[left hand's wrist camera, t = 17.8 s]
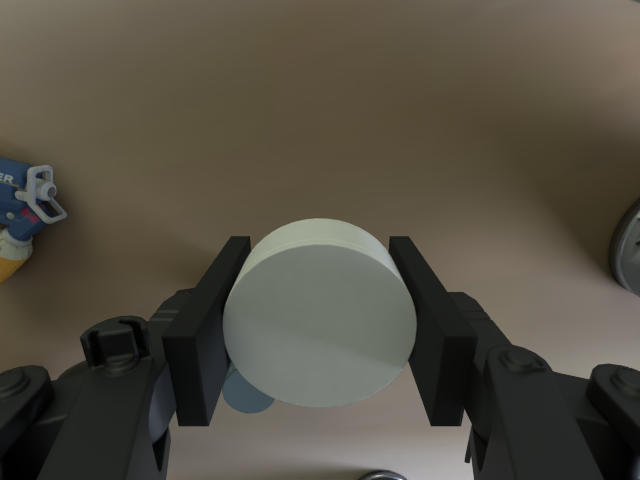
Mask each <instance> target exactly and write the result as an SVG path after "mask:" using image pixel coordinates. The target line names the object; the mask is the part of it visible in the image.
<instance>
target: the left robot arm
mask: <svg viewBox="0 0 640 480" xmlns="http://www.w3.org/2000/svg"><path fill="white" fill-rule="evenodd" d="M250 253H251V244H250V236H231V237H230V239H229V240H228V242H227V243H226V244H225V246H224V247H223V249H222V250H221V252H220V253H219V255H218V256H217V257H216V259H215V260H214V262H213V263H212V265H211V266H210V267H209V269H208V270H207V272H206V273H205V275H204V276H203V277H202V279H201V280H200V282H199V283H198V285H197V286H196V287H195V289H194V290H193V292H192V293H177V294H175V295H173V296H172V297H170V298H169V299H167V300H166V301H164V302H163V303H162V305H161V306H160V307H159V308H158V309H157V311H156V313H154V314H153V316H152V317H151V318H150V321H148V322H146V321H145V320H144V319H143V318H141V317H137V316H120V317H116V318H111V319H108V320H105V321H103V322H100V323H98V324H96V325H94V326H93V327H91V328H89V329H88V330H86V331H85V332H84V334H83V335H82V336H81V337H80V340H81V344H82V347H83V350H84V354H85V357H86V361H87V364H88V367H89V370H88V372H87V373H85V374H81V375H77V376H72V377H68V378H63V379H58V380H53V381H51V380H50V377H49V374H48V371H47V370H46V369H45V368H43V367H42V366H34V365H30V366H23V367H17V368H13V369H11V370H7V371H4V372H2V373H0V480H166V475H167V467H168V459H169V451H170V442H171V438H170V431H169V426H168V424H169V422H170V420H171V418H172V416H173V414H174V412H175V410H176V414H177V419H178V425H179V426H209V424H210V421H211V418H212V415H213V412H214V409H215V407H216V404H217V401H218V398H219V395H220V392H221V390H222V387H223V384H224V381H225V378H226V375H227V372H228V370H229V367H230V364H231V359H230V357H229V355H228V352H227V350H226V347H225V342H224V334H223V325H222V321H223V313H224V308H225V304H226V302H227V299H228V297H229V294H230V292H231V290H232V288H233V286H234V284H235V282H236V280H237V277H238V275H239V273H240V271H241V269H242V267H243V265H244V263H245V261H246V259H247V258H248V256H249V254H250ZM389 254H390V256H391V257H392V259H393V261H394V263H395V265H396V267H397V269H398V271H399V273H400V275H401V277H402V279H403V281H404V283H405V285H406V287H407V289H408V291H409V293H410V295H411V297H412V300H413V303H414V306H415V311H416V316H417V329H416V337H415V344H414V347H413V350H412V353H411V355H410V357H409V359H408V362H409V365H410V367H411V370H412V373H413V376H414V379H415V382H416V384H417V387H418V390H419V393H420V396H421V399H422V402H423V404H424V407H425V410H426V413H427V416H428V419H429V422H430V424H431V426H461V423H462V418H463V413H464V409H465V411H466V413H467V415H468V417H469V419H470V421H471V423H472V426H471V431H470V436H469V441H468V445H467V450H466V455H465V462H466V463H470V458H472V466H473V474H474V480H640V371H638V370H635V369H632V368H629V367H625V366H621V365H614V364H601V365H597V366H596V367H595V368H593V370H592V373H591V376H590V379H585V378H580V377H575V376H570V375H566V374H561V373H557V372H553V371H552V369H551V367H550V366H549V365H548V363H547V362H546V361H545V360H544V359H543V358H541V357H540V356H539V355H537V354H536V353H534V352H532V351H530V350H527V349H525V348H523V347H519V346H515V345H512V344H511V343H510V341H509V340H508V339H507V338H506V336H505V335H504V334H503V333H502V332H501V330H500V329H499V328H498V327H497V325H496V324H495V323H494V322H493V321H492V320H490V317H489V316H488V314H487V313H486V312H484V310H483V308H482V307H481V306H480V305H479V303H478V302H477V301H476V300H475V299H473V298H472V297H470V296H468V295H467V294H465V293H464V292H447V291H446V289H445V288H444V286H443V285H442V284H441V282H440V281H439V279H438V278H437V276H436V275H435V274H434V272H433V271H432V269H431V268H430V266H429V265H428V263H427V262H426V261H425V259H424V258H423V256H422V255H421V253H420V252H419V251H418V249H417V248H416V246H415V245H414V243H413V242H412V241H411V239H410V238H409V236H390V241H389ZM610 265H611V269H612V272H613V274H614V276H615V278H616V279H617V281H618V282H619V283H620V284H621V285H622V286H623V287H624V288H626V289H627V290H629V291H630V292H632V293H634V294H636V295H637V296H639V297H640V199H639V200H638V201H637V202H636V203H635V204H634V205H633V206H632V207H631V208H630V209H629V211H628V212H627V213H626V214H625V216H624V217H623V219H622V220H621V222H620V223H619V225H618V227H617V229H616V231H615V233H614V236H613V239H612V243H611V247H610Z"/></svg>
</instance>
